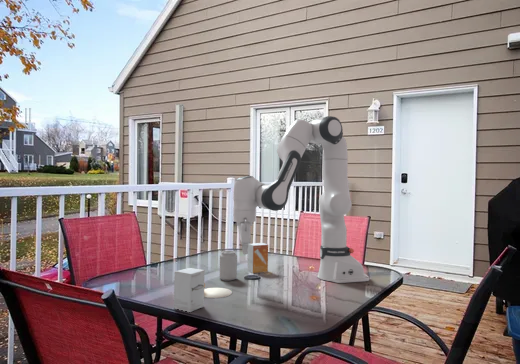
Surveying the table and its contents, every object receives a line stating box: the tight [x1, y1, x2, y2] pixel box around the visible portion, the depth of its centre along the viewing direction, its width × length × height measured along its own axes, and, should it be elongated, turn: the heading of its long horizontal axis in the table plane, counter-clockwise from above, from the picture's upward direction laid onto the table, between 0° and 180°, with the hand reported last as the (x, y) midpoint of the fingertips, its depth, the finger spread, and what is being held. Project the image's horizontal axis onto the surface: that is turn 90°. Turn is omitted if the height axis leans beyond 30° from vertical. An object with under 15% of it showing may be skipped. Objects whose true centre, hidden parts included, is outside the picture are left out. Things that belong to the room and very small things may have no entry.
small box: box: [246, 242, 269, 274], centre depth 183 cm, size 8×6×13 cm
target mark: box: [204, 287, 233, 299], centre depth 147 cm, size 13×13×1 cm
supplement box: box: [173, 267, 206, 313], centre depth 129 cm, size 7×7×13 cm
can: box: [219, 250, 238, 282], centre depth 168 cm, size 8×8×12 cm
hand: (244, 251), depth 152 cm, fingers open, 8 cm apart
